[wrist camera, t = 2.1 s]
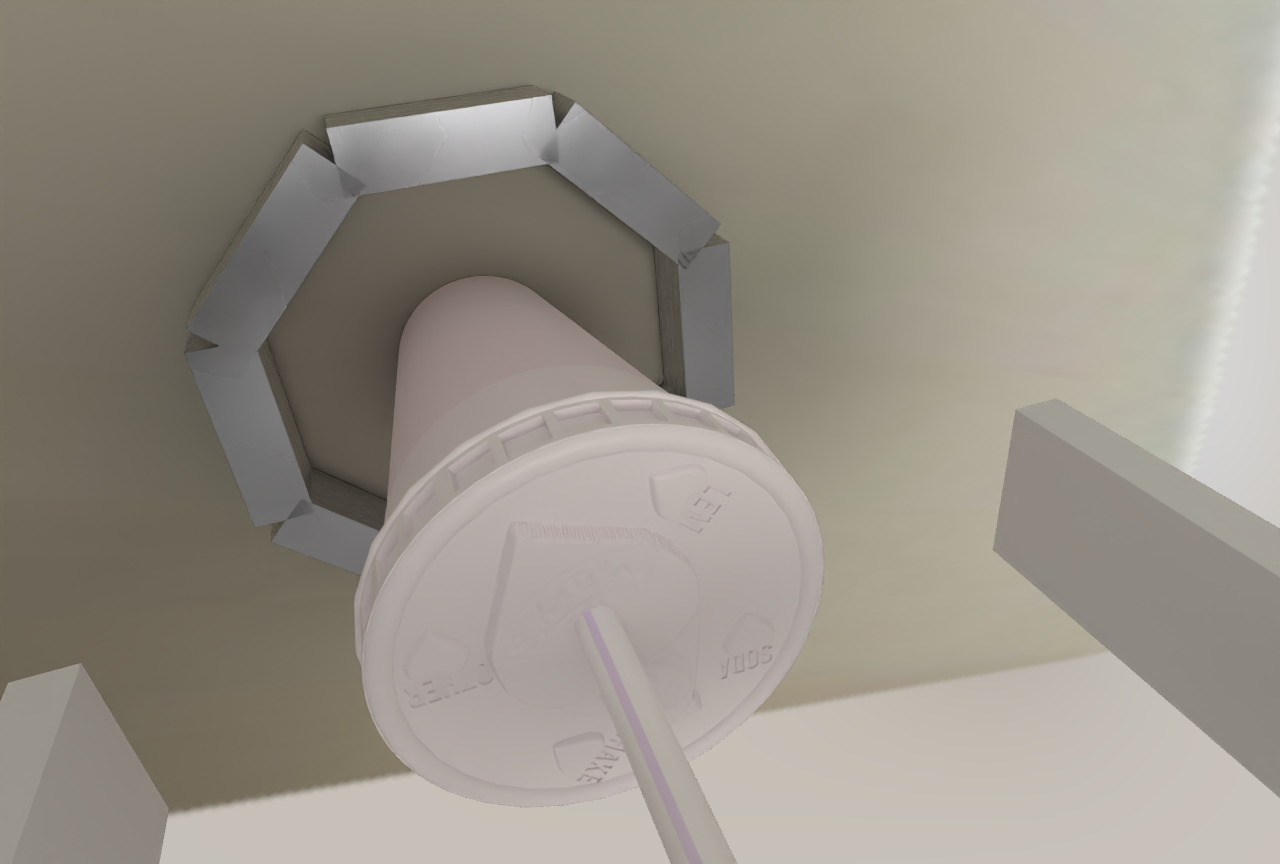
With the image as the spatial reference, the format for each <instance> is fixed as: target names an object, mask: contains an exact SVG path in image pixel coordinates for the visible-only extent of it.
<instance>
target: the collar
mask: <svg viewBox="0 0 1280 864" xmlns="http://www.w3.org/2000/svg"><path fill="white" fill-rule="evenodd" d="M324 116H325V123H326V129H327V133H328V137H329V140H330V144H331V148H330V147H329V146H327V145H326V144H324V143H323V142H321V141H320V140H318V139H317V138H315V137H314V136H312V135H311V134H309V133H308V132H306V131H305V130H302V131H301V133H300V134H299V136H298V138H297V139H296V141H295V142H294V144H293V146H292V147H291V149H290V150H289V152H288V154H287V155H286V157H285V158H284V160H283V162H282V163H281V165H280V166H279V168H278V170H277V171H276V173H275V174H274V176H273V178H272V179H271V181H270V182H269V184H268V186H267V187H266V189H265V190H264V192H263V194H262V195H261V197H260V198H259V200H258V202H257V203H256V205H255V207H254V208H253V210H252V211H251V213H250V215H249V216H248V218H247V219H246V221H245V223H244V224H243V226H242V227H241V229H240V231H239V232H238V234H237V235H236V237H235V239H234V240H233V242H232V243H231V245H230V247H229V248H228V250H227V251H226V253H225V255H224V256H223V258H222V259H221V261H220V263H219V264H218V266H217V267H216V269H215V271H214V272H213V274H212V275H211V277H210V279H209V280H208V282H207V284H206V285H205V287H204V288H203V290H202V292H201V293H200V295H199V296H198V298H197V300H196V301H195V304H194V307H193V310H192V313H191V316H190V319H189V322H188V325H187V329H186V330H188V331H190V332H191V334H190V337H189V340H188V343H187V347H186V350H185V353H184V354H185V357H186V359H187V362H188V364H189V367H190V369H191V371H192V374H193V376H194V379H195V381H196V384H197V386H198V389H199V391H200V394H201V396H202V398H203V401H204V403H205V406H206V408H207V411H208V413H209V416H210V418H211V421H212V423H213V425H214V428H215V430H216V433H217V435H218V438H219V440H220V443H221V445H222V448H223V450H224V452H225V455H226V457H227V460H228V462H229V465H230V467H231V470H232V472H233V475H234V477H235V480H236V482H237V484H238V487H239V489H240V492H241V494H242V497H243V499H244V502H245V504H246V507H247V509H248V511H249V514H250V516H251V519H252V521H253V524H254V526H255V528H256V527H260V526H264V525H268V524H272V533H271V542H272V543H275V544H277V545H280V546H283V547H285V548H288V549H291V550H293V551H296V552H299V553H301V554H304V555H307V556H309V557H312V558H315V559H317V560H320V561H323V562H325V563H328V564H331V565H333V566H336V567H339V568H341V569H344V570H347V571H349V572H352V573H355V574H357V575H360V576H361V575H362V572H363V569H364V565H365V562H366V559H367V556H368V553H369V550H370V547H371V544H372V541H373V540H374V538H375V537H376V535H377V534H378V533H379V531H380V530H381V528H382V527H383V525H384V521H385V512H386V506H387V501H386V500H384V499H382V498H379V497H377V496H375V495H372V494H370V493H368V492H366V491H363V490H361V489H359V488H356V487H354V486H352V485H350V484H347V483H345V482H343V481H340V480H338V479H336V478H334V477H331V476H329V475H327V474H324V473H322V472H320V471H318V470H315V469H313V468H311V466H310V463H309V460H308V457H307V454H306V451H305V448H304V446H303V443H302V440H301V437H300V434H299V431H298V428H297V425H296V423H295V420H294V417H293V414H292V411H291V408H290V405H289V402H288V399H287V397H286V394H285V391H284V388H283V385H282V382H281V379H280V376H279V374H278V371H277V368H276V365H275V362H274V359H273V356H272V353H271V351H270V348H269V345H268V342H267V339H266V338H267V336H268V334H269V333H270V331H271V330H272V328H273V327H274V325H275V324H276V322H277V321H278V319H279V318H280V316H281V315H282V313H283V311H284V310H285V308H286V307H287V305H288V304H289V302H290V301H291V299H292V298H293V296H294V295H295V293H296V291H297V290H298V288H299V287H300V285H301V284H302V282H303V281H304V279H305V278H306V276H307V275H308V273H309V271H310V270H311V268H312V267H313V265H314V264H315V262H316V261H317V259H318V258H319V256H320V255H321V253H322V251H323V250H324V248H325V247H326V245H327V244H328V242H329V241H330V239H331V238H332V236H333V235H334V233H335V231H336V230H337V228H338V227H339V225H340V224H341V222H342V221H343V219H344V218H345V216H346V215H347V213H348V211H349V210H350V208H351V207H352V205H353V204H354V202H355V201H356V199H357V198H358V196H361V195H367V194H373V193H379V192H385V191H391V190H396V189H402V188H408V187H414V186H420V185H426V184H432V183H438V182H444V181H450V180H456V179H462V178H468V177H473V176H479V175H485V174H491V173H497V172H503V171H509V170H515V169H521V168H527V167H533V166H539V165H545V164H549V165H550V166H552V167H553V168H554V169H555V170H557V171H558V172H559V173H561V174H562V175H563V176H565V177H566V178H567V179H568V180H570V181H571V182H572V183H574V184H575V185H576V186H577V187H579V188H580V189H581V190H583V191H584V192H585V193H587V194H588V195H589V196H590V197H592V198H593V199H594V200H596V201H597V202H598V203H599V204H601V205H602V206H603V207H605V208H606V209H607V210H609V211H610V212H611V213H612V214H614V215H615V216H616V217H618V218H619V219H620V220H622V221H623V222H624V223H625V224H627V225H628V226H629V227H631V228H632V229H633V230H634V231H636V232H637V233H638V234H640V235H641V236H642V237H644V238H645V239H646V240H647V241H649V242H650V243H651V244H653V245H654V256H655V268H656V281H657V293H658V306H659V318H660V331H661V343H662V356H663V368H664V381H665V382H664V383H663V384H662V386H661V388H662V389H664V390H665V391H667V392H668V393H670V394H674V395H678V396H681V397H685V398H689V399H693V400H697V401H701V402H705V403H709V404H712V405H713V406H715V407H717V408H718V409H720V408H724V407H728V406H732V405H734V377H733V346H732V314H731V283H730V252H729V242H727V241H726V240H724V239H723V238H721V237H720V236H718V235H717V234H715V233H714V232H715V231H716V230H717V228H718V227H719V226H720V223H719V222H718V221H716V220H715V219H714V218H713V217H712V216H711V215H709V214H708V213H707V212H706V211H705V210H703V209H702V208H701V207H700V206H699V205H697V204H696V203H695V202H694V201H693V200H692V199H690V198H689V197H688V196H687V195H686V194H684V193H683V192H682V191H681V190H680V189H678V188H677V187H676V186H675V185H674V184H672V183H671V182H670V181H669V180H668V179H667V178H665V177H664V176H663V175H662V174H661V173H659V172H658V171H657V170H656V169H655V168H653V167H652V166H651V165H650V164H649V163H648V162H646V161H645V160H644V159H643V158H642V157H640V156H639V155H638V154H637V153H636V152H634V151H633V150H632V149H631V148H630V147H629V146H627V145H626V144H625V143H624V142H623V141H621V140H620V139H619V138H618V137H617V136H615V135H614V134H613V133H612V132H611V131H610V130H608V129H607V128H606V127H605V126H604V125H602V124H601V123H600V122H599V121H598V120H596V119H595V118H594V117H593V116H592V115H591V114H589V113H588V112H587V111H586V110H585V109H583V108H582V107H581V106H580V105H579V104H577V103H576V102H575V101H573V100H571V99H569V98H567V97H565V96H563V95H561V94H559V93H557V92H555V93H554V95H553V96H551V95H550V94H549V93H547V92H545V91H543V90H541V89H539V88H537V87H535V86H533V85H531V86H524V87H517V88H510V89H503V90H496V91H490V92H483V93H476V94H469V95H462V96H455V97H448V98H441V99H434V100H427V101H420V102H413V103H406V104H399V105H392V106H386V107H379V108H372V109H365V110H358V111H351V112H344V113H337V114H330V115H324Z"/></svg>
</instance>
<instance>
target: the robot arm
mask: <svg viewBox="0 0 1280 864" xmlns="http://www.w3.org/2000/svg"><path fill="white" fill-rule="evenodd" d="M993 550H994V551H995V552H996V553H997V554H998V555H1000V556H1001V557H1002V558H1003V559H1004V560H1005V561H1007V562H1008V563H1009V564H1010V565H1011V566H1012V567H1013V568H1015V569H1016V570H1017V571H1018V572H1019V573H1020V574H1022V575H1023V576H1024V577H1025V578H1026V579H1027V580H1029V581H1030V582H1031V583H1032V584H1033V585H1034V586H1035V587H1037V588H1038V589H1039V590H1040V591H1041V592H1042V593H1044V594H1045V595H1046V596H1047V597H1048V598H1049V599H1050V600H1052V601H1053V602H1054V603H1055V604H1056V605H1057V606H1059V607H1060V608H1061V609H1062V610H1063V611H1064V612H1066V613H1067V614H1068V615H1069V616H1070V617H1071V618H1072V619H1074V620H1075V621H1076V622H1077V623H1078V624H1079V625H1081V626H1082V627H1083V628H1084V629H1085V630H1086V631H1088V632H1089V633H1090V634H1091V635H1092V636H1093V637H1094V638H1096V639H1097V640H1098V641H1099V642H1100V643H1101V644H1103V645H1104V646H1105V647H1106V648H1107V649H1108V650H1109V651H1111V652H1112V653H1113V654H1114V655H1115V656H1116V657H1118V658H1119V659H1120V660H1121V661H1122V662H1123V663H1125V664H1126V665H1127V666H1128V667H1129V668H1130V669H1131V670H1133V671H1134V672H1135V673H1136V674H1137V675H1138V676H1140V677H1141V678H1142V679H1143V680H1144V681H1145V682H1147V683H1148V684H1149V685H1150V686H1151V687H1152V688H1153V689H1155V690H1156V691H1157V692H1158V693H1159V694H1160V695H1162V696H1163V697H1164V698H1165V699H1166V700H1167V701H1168V702H1170V703H1171V704H1172V705H1173V706H1174V707H1176V708H1177V709H1178V710H1179V711H1180V712H1181V713H1182V714H1184V715H1185V716H1186V717H1187V718H1188V719H1189V720H1190V721H1192V722H1193V723H1194V724H1195V725H1196V726H1197V727H1199V728H1200V729H1201V730H1202V731H1203V732H1204V733H1206V734H1207V735H1208V736H1209V737H1210V738H1211V739H1212V740H1214V741H1215V742H1216V743H1217V744H1218V745H1219V746H1221V747H1222V748H1223V749H1224V750H1225V751H1226V752H1227V753H1229V754H1230V755H1231V756H1232V757H1233V758H1234V759H1236V760H1237V761H1238V762H1239V763H1240V764H1241V765H1242V766H1244V767H1245V768H1246V769H1247V770H1248V771H1249V772H1251V773H1252V774H1253V775H1254V776H1255V777H1256V778H1258V779H1259V780H1260V781H1261V782H1262V783H1263V784H1264V785H1266V786H1267V787H1268V788H1269V789H1270V790H1271V791H1273V792H1274V793H1275V794H1276V795H1277V796H1279V798H1280V528H1278V527H1276V526H1274V525H1272V524H1271V523H1269V522H1268V521H1266V520H1264V519H1262V518H1261V517H1259V516H1257V515H1256V514H1254V513H1252V512H1250V511H1249V510H1247V509H1245V508H1244V507H1242V506H1240V505H1238V504H1237V503H1235V502H1233V501H1232V500H1230V499H1228V498H1227V497H1225V496H1223V495H1221V494H1219V493H1218V492H1216V491H1215V490H1213V489H1211V488H1209V487H1207V486H1206V485H1204V484H1202V483H1201V482H1199V481H1197V480H1196V479H1194V478H1192V477H1191V476H1189V475H1187V474H1185V473H1184V472H1182V471H1180V470H1179V469H1177V468H1175V467H1173V466H1172V465H1170V464H1168V463H1167V462H1165V461H1163V460H1161V459H1160V458H1158V457H1156V456H1155V455H1153V454H1151V453H1149V452H1148V451H1146V450H1144V449H1143V448H1141V447H1139V446H1137V445H1136V444H1134V443H1132V442H1131V441H1129V440H1127V439H1125V438H1124V437H1122V436H1120V435H1119V434H1117V433H1115V432H1113V431H1112V430H1110V429H1108V428H1107V427H1105V426H1103V425H1101V424H1100V423H1098V422H1096V421H1095V420H1093V419H1091V418H1089V417H1088V416H1086V415H1084V414H1083V413H1081V412H1079V411H1077V410H1076V409H1074V408H1072V407H1071V406H1069V405H1067V404H1066V403H1064V402H1062V401H1060V400H1059V399H1053V400H1049V401H1045V402H1042V403H1038V404H1034V405H1031V406H1027V407H1023V408H1020V409H1016V411H1015V417H1014V423H1013V429H1012V435H1011V441H1010V448H1009V454H1008V460H1007V466H1006V472H1005V478H1004V485H1003V491H1002V497H1001V503H1000V509H999V515H998V521H997V528H996V534H995V540H994V546H993ZM168 811H169V808H168V807H167V805H166V803H165V802H164V800H163V798H162V797H161V795H160V793H159V792H158V790H157V788H156V787H155V785H154V783H153V782H152V780H151V778H150V777H149V775H148V773H147V772H146V770H145V768H144V767H143V765H142V763H141V762H140V760H139V758H138V757H137V755H136V753H135V752H134V750H133V748H132V747H131V745H130V743H129V742H128V740H127V738H126V737H125V735H124V733H123V732H122V730H121V728H120V727H119V725H118V723H117V722H116V720H115V718H114V717H113V715H112V713H111V712H110V710H109V708H108V707H107V705H106V703H105V702H104V700H103V698H102V697H101V695H100V693H99V692H98V690H97V688H96V687H95V685H94V683H93V682H92V680H91V678H90V677H89V675H88V673H87V672H86V670H85V668H84V667H83V665H82V663H79V664H75V665H72V666H68V667H64V668H61V669H57V670H53V671H50V672H46V673H42V674H38V675H35V676H31V677H27V678H24V679H20V680H16V681H13V682H9V683H8V685H7V687H6V690H5V692H4V694H3V696H2V699H1V701H0V864H159V861H160V855H161V849H162V844H163V839H164V833H165V827H166V822H167V817H168Z"/></svg>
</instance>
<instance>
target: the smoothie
mask: <svg viewBox="0 0 1280 864" xmlns="http://www.w3.org/2000/svg"><path fill="white" fill-rule="evenodd" d="M823 574H824V554H823V544H822V538H821V533H820V529H819V526H818V522H817V519H816V516H815V514H814V512H813V509H812V507H811V505H810V503H809V501H808V499H807V498H806V496H805V494H804V493H803V491H802V490H801V488H800V487H799V485H798V484H797V483H796V482H795V481H794V479H793V478H792V477H791V476H790V475H789V473H788V472H787V471H786V470H785V468H784V467H783V465H782V464H781V463H780V462H779V460H778V459H777V458H776V457H775V455H774V454H773V453H772V452H771V450H770V449H769V448H768V447H767V445H766V444H765V443H764V442H763V441H762V439H761V438H760V437H759V436H758V434H757V433H756V432H755V431H754V430H752V429H751V428H749V427H747V426H746V425H744V424H743V423H741V422H739V421H738V420H736V419H734V418H733V417H731V416H730V415H728V414H726V413H725V412H723V411H722V410H720V409H718V408H717V407H715V406H713V405H712V404H709V403H705V402H701V401H697V400H693V399H689V398H685V397H681V396H678V395H674V394H670V393H668V392H667V391H665V390H664V389H662V388H661V387H659V386H658V385H656V384H655V383H654V382H652V381H651V380H650V379H648V378H647V377H646V376H644V375H643V374H642V373H640V372H639V371H638V370H636V369H635V368H634V367H633V366H631V365H630V364H629V363H627V362H626V361H625V360H623V359H622V358H621V357H619V356H618V355H617V354H615V353H614V352H613V351H612V350H610V349H609V348H608V347H606V346H605V345H604V344H602V343H601V342H600V341H598V340H597V339H596V338H594V337H593V336H592V335H591V334H589V333H588V332H587V331H585V330H584V329H583V328H581V327H580V326H579V325H577V324H576V323H575V322H573V321H572V320H571V319H569V318H568V317H567V316H566V315H564V314H563V313H562V312H560V311H559V310H558V309H556V308H555V307H554V306H552V305H551V304H550V303H548V302H547V301H546V300H545V299H543V298H542V297H541V296H539V295H538V294H537V293H535V292H534V291H532V290H531V289H530V288H528V287H526V286H524V285H523V284H521V283H518V282H516V281H513V280H510V279H507V278H502V277H496V276H473V277H467V278H463V279H459V280H456V281H453V282H451V283H448V284H446V285H444V286H442V287H441V288H439V289H437V290H436V291H434V292H433V293H431V294H430V295H429V296H427V297H426V298H425V299H424V300H423V301H422V302H421V303H420V304H419V305H418V306H417V308H416V309H415V310H414V312H413V313H412V314H411V316H410V318H409V319H408V321H407V323H406V325H405V327H404V330H403V333H402V336H401V340H400V345H399V355H398V368H397V380H396V393H395V406H394V418H393V431H392V443H391V456H390V469H389V481H388V494H387V506H386V512H385V521H384V525H383V527H382V528H381V530H380V531H379V533H378V534H377V535H376V537H375V538H374V540H373V541H372V544H371V547H370V550H369V553H368V556H367V559H366V562H365V565H364V569H363V572H362V575H361V578H360V581H359V584H358V587H357V590H356V593H355V596H354V621H355V652H356V654H357V657H358V659H359V662H360V664H361V667H362V682H363V688H364V693H365V699H366V703H367V706H368V709H369V712H370V715H371V718H372V720H373V722H374V724H375V726H376V728H377V730H378V732H379V734H380V735H381V737H382V738H383V739H384V741H385V742H386V744H387V745H388V747H389V748H390V749H391V750H392V751H393V753H394V754H395V755H396V756H397V757H398V758H399V759H400V760H401V761H402V762H403V763H404V764H405V765H407V766H408V767H409V768H410V769H411V770H413V771H414V772H415V773H416V774H418V775H419V776H421V777H423V778H424V779H426V780H427V781H429V782H431V783H432V784H434V785H436V786H438V787H440V788H443V789H444V790H446V791H449V792H452V793H455V794H457V795H460V796H463V797H466V798H470V799H474V800H477V801H481V802H484V803H492V804H499V805H509V806H516V807H543V806H564V805H569V804H575V803H580V802H585V801H592V800H597V799H602V798H606V797H609V796H612V795H615V794H618V793H621V792H625V791H628V790H631V789H634V788H637V787H640V789H641V792H642V794H643V797H644V799H645V802H646V804H647V806H648V809H649V811H650V813H651V816H652V819H653V821H654V824H655V826H656V829H657V831H658V833H659V836H660V838H661V841H662V843H663V846H664V848H665V851H666V853H667V855H668V858H669V860H670V863H671V864H737V862H736V860H735V858H734V856H733V854H732V852H731V850H730V848H729V846H728V843H727V841H726V839H725V837H724V835H723V833H722V831H721V829H720V827H719V825H718V823H717V821H716V819H715V817H714V814H713V812H712V810H711V808H710V806H709V804H708V802H707V800H706V798H705V796H704V794H703V792H702V790H701V787H700V785H699V783H698V782H697V779H696V777H695V775H694V773H693V771H692V769H691V767H690V765H689V762H690V761H692V760H694V759H695V758H697V757H699V756H700V755H702V754H703V753H705V752H707V751H708V750H710V749H712V748H713V747H714V746H715V745H716V744H718V743H719V742H720V741H721V740H723V739H724V738H725V737H727V736H728V735H729V734H730V733H732V732H733V731H734V730H736V729H737V728H738V727H739V726H740V725H742V724H743V723H744V722H745V721H746V720H747V719H748V718H749V717H750V716H751V715H752V714H753V713H754V712H755V711H756V710H757V709H758V708H759V706H760V705H761V704H762V703H763V702H764V701H765V700H766V699H767V698H768V697H769V696H770V695H771V693H772V692H773V691H774V689H775V688H776V687H777V685H778V684H779V683H780V681H781V680H782V679H783V677H784V676H785V675H786V673H787V672H788V671H789V669H790V668H791V666H792V665H793V663H794V661H795V659H796V657H797V655H798V653H799V652H800V650H801V648H802V646H803V644H804V642H805V640H806V638H807V636H808V634H809V632H810V629H811V626H812V623H813V621H814V618H815V615H816V612H817V608H818V604H819V601H820V596H821V590H822V584H823Z"/></svg>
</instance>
